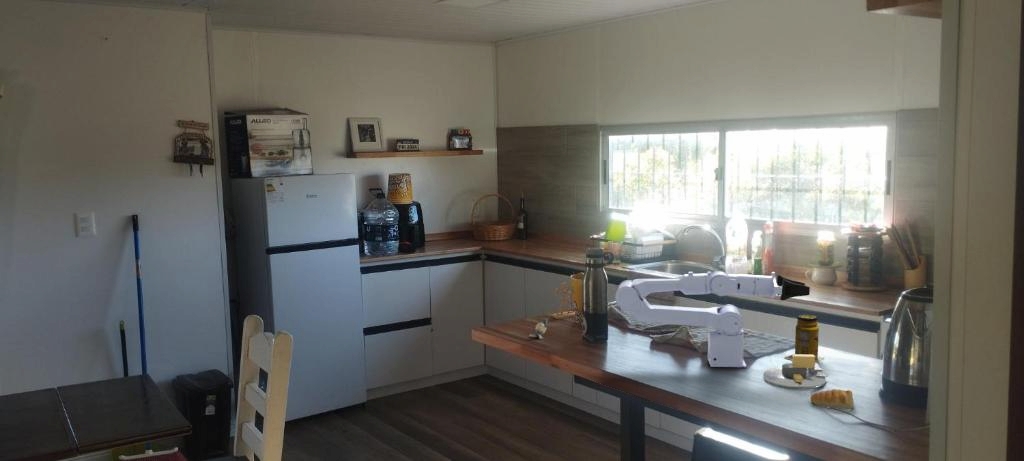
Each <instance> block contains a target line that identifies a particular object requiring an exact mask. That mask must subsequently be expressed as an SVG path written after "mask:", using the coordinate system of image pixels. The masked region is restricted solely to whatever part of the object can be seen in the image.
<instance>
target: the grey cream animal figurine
mask: <svg viewBox="0 0 1024 461" xmlns="http://www.w3.org/2000/svg"><path fill="white" fill-rule="evenodd" d="M547 325H548V318H546V317H540V321H538V323H537V324H536V325H535V333H531V334H529V337H532V338H539V339H540V340H543V339H544V337H543V336H542V335H544V334H545V333H546V330H547Z"/></svg>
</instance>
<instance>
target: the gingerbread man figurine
mask: <svg viewBox="0 0 1024 461" xmlns="http://www.w3.org/2000/svg"><path fill="white" fill-rule="evenodd" d="M565 284H566V285H565ZM564 285H565V286H564ZM570 288H571V287H570V284H569V283H567V282H562V283H561V284H560V286H559V288H555V289H554V295H555V297H556V298H558V299H560V305H559V307H558V309H557V311H556V313H553V314H551V317H552V318H554V319H557V320H559V319H565V318H571V317H572V318H573V317H576V316H575V312H576V311H575V312H574V308H573V307H572V305H571V303H570V301H571V302H574V301H573V298H572V296H569V295H568V293H569V294H570V293H571V294H572V293H573V292H572V291H570ZM558 294H561V295H562V296H563V297H562V296H561V297H560V296H558ZM567 295H568V296H567ZM563 304H564V306H562V305H563ZM565 304H568V306H569V307H570V308H569V309H568V307H567V305H565ZM562 307H563V308H562ZM561 308H562V309H561ZM565 310H566V311H565Z"/></svg>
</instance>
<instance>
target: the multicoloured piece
mask: <svg viewBox="0 0 1024 461" xmlns="http://www.w3.org/2000/svg"><path fill="white" fill-rule="evenodd" d="M791 355H792V360H791V362H788V363H787V362H786V363H783V364H782V365H781V367H782V374H783V375H784V376H787V377H792V378H794V379H795V381H796V382H803V378H802V377H806V376H807V369H808V368H815V363H816V361H815V356H814V355H806V354H795V353H793V354H791Z"/></svg>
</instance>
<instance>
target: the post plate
mask: <svg viewBox="0 0 1024 461" xmlns="http://www.w3.org/2000/svg"><path fill="white" fill-rule="evenodd" d="M822 372H823V369H822V367H821V366H820V365H819V364H818V362H815V368H807V376H806V377H802V378H803V382H796V381H795V379H794V378H792V377H787V376H784V375H783V374H782V366H777V367H771V368H769V369H766V370H764V371H763V379H764V381H765V382H766V383H767V384H771V385H773V386H776V387H780V388H785V389H791V390H792V389H795V390H811V389H812V388H813V389H815V388H814V387H816V386H819V385H823V386H825V384H826V379H827V378H828V375H827V374H826V375H825V374H823V373H822ZM826 377H827V378H826Z"/></svg>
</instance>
